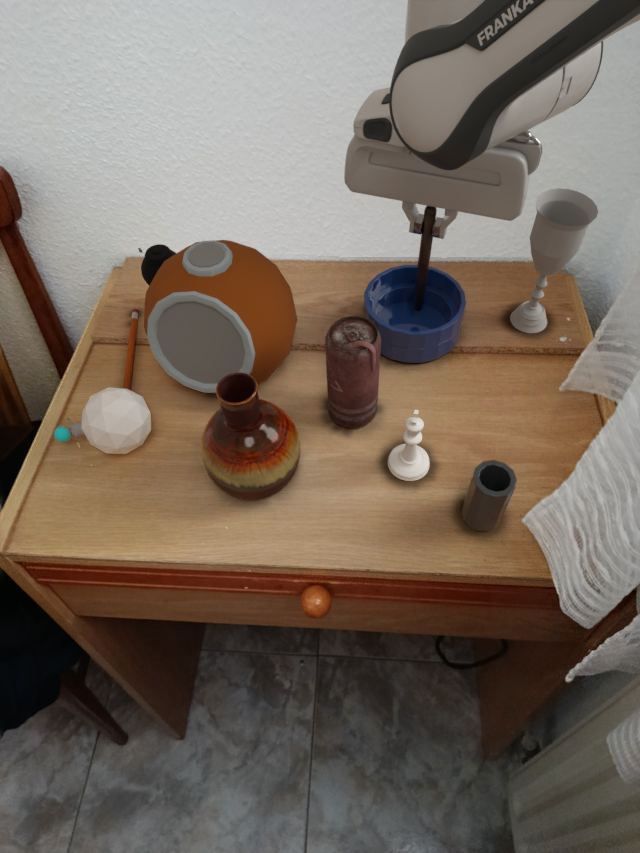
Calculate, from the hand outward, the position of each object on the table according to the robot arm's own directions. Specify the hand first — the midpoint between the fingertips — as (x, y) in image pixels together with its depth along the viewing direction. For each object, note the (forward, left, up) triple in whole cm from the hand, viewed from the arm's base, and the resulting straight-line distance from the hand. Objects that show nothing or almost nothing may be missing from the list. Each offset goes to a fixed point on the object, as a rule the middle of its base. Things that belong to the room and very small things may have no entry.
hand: (427, 232), depth 72 cm
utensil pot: (-15, +27, -15) cm, 34 cm away
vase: (+11, +30, -15) cm, 35 cm away
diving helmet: (+22, +15, -15) cm, 30 cm away
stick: (0, 0, -13) cm, 13 cm away
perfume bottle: (+30, +32, -15) cm, 46 cm away
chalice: (-15, -5, -15) cm, 22 cm away
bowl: (0, +2, -15) cm, 15 cm away
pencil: (+35, +19, -15) cm, 43 cm away
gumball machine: (+34, +8, -15) cm, 38 cm away
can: (+3, +18, -15) cm, 23 cm away
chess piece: (-5, +23, -15) cm, 28 cm away
